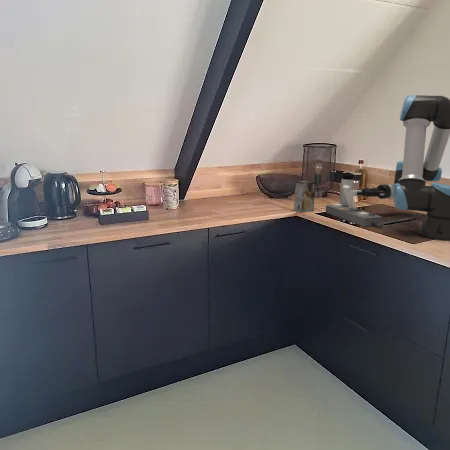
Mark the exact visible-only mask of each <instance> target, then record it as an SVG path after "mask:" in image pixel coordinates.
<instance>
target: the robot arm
mask: <svg viewBox="0 0 450 450" xmlns="http://www.w3.org/2000/svg"><path fill="white" fill-rule="evenodd" d="M399 121H401V122H402V126H403V127H404V128H405V137H404V150H403V160H399V161H397V162H396V166H395V173H394V181H393V183H388V184H387V183H386V184H385V183H384V184H379V185H378V186H377V187H372V188H371V187H370V188H369V187H364V188H358V189H356V190H352V191H351V192H352V195H353V197H366V198H367V197H369V198H370V197H374V198H375V197H377V198H378V199H380V200H386V199H388V200H391V199H393V203H394V207H395V208H396V209H397V210H401V211H403V210H404V211H412V212H413V211H415V212H424V213H426V217H425V218H424V220H423V222H422V224H421V226H420V228H419V234H420V235H421V236H423V237H426V238H430V239H432V240H433V239H434V240H440V239H443V240H442V241H450V185H449V184H445V183H440V182H439V181H441V178H442V174H443V173H442V171H443V170H442V167H440V166H441V165H440V164H441V162H442V159H443V157H444V153H445V151H446V150H445V149H446V147H447V144H448V141H449V138H450V98H448V97H447V96H443V95H426V94H425V95H421V94H415V95H414V94H412V95H411V94H410V95H407V96H405V98H404V101H403V104H402V107H401V112H400V115H399ZM431 122H432V124H433V130H432V133H431V137H430V141H429V143H428V147H427V151H426V153H425V149H426V136H427V135H426V133H427V128H428V127H429V126H430V125H431ZM426 182H431V185H426Z"/></svg>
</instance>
